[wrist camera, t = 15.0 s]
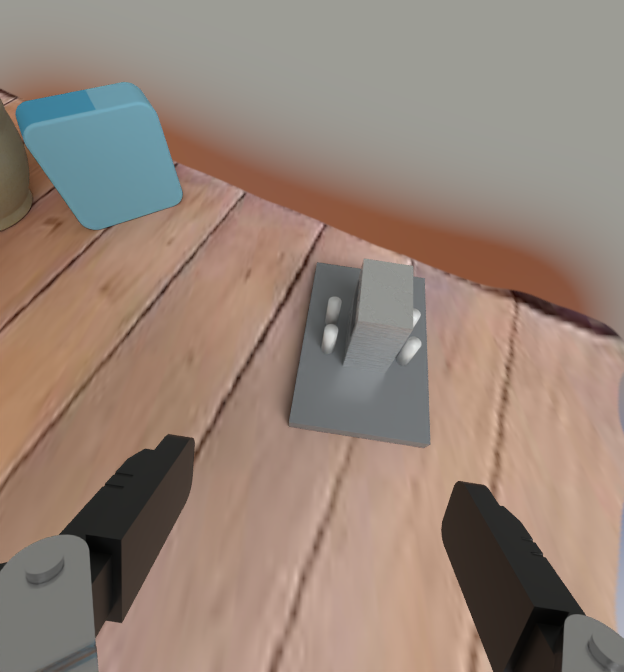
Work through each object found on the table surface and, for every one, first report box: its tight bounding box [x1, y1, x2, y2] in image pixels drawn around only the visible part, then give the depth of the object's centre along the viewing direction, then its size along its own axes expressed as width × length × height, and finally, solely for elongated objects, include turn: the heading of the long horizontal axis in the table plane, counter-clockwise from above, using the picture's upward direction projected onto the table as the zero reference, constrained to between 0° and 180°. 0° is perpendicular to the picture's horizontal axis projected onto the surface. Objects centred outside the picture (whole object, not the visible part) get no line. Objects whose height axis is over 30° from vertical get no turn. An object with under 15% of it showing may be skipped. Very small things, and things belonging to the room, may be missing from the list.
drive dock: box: [289, 262, 430, 448], centre depth 31 cm, size 12×18×5 cm, turn 172°
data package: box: [16, 82, 183, 230], centre depth 36 cm, size 12×4×12 cm, turn 121°
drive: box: [343, 259, 413, 373], centre depth 29 cm, size 4×6×8 cm
